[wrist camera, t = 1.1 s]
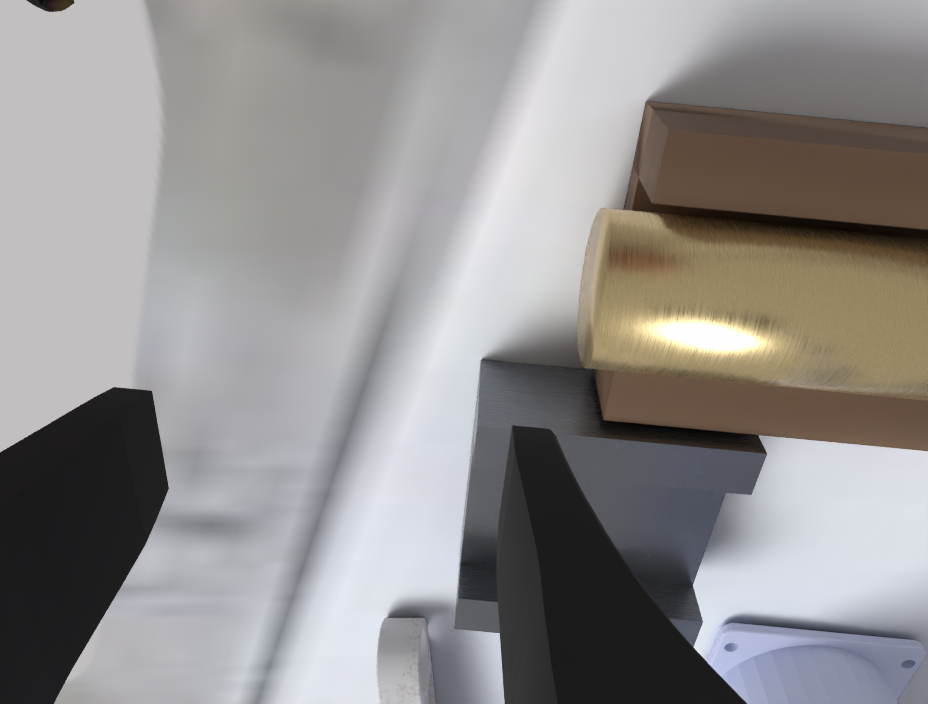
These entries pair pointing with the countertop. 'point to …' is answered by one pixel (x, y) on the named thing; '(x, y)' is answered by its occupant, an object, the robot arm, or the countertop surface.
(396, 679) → the wrench
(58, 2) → the dragon fruit
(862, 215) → the brown wooden cradle
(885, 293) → the brass axle
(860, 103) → the countertop surface
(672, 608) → the v block
